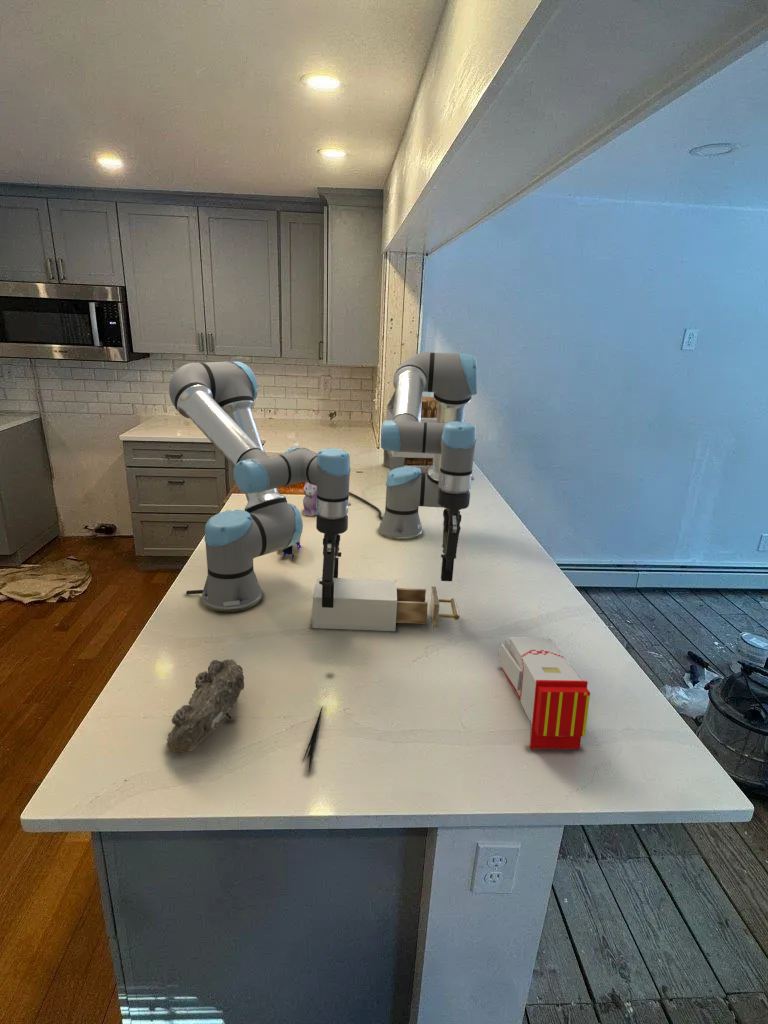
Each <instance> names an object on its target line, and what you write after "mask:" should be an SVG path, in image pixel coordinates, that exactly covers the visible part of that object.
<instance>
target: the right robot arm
mask: <svg viewBox="0 0 768 1024" xmlns="http://www.w3.org/2000/svg"><path fill="white" fill-rule="evenodd" d="M477 366H478V365H477V358H476V357H475V356H474V355H473V354H467V353H462V352H460V353H451V352H431V351H424V352H422V351H421V352H419V353H415V354H413V355H410V357H407V358H406V359H405V360H403V361H402V363H400V364H399V365H398V367H397V368H396V369H395V372H394V374H393V375H394V376H393V381H392V382H393V387H394V389H395V390H396V391H395V390H394V392H395V399H394V406H393V413H392V420H386V419H385V420H383V422H382V423H381V430H380V447H381V449H382V450H383V451H384V450H387V451H395V452H415V453H431V454H434V455H433V465H430V466H428V469H427V472H422V469H421V468H420V467H419V466H418V467H417V466H407V465H406V466H404V467H399V468H395V469H393V470H391V471H390V470H389V471H388V473H387V475H386V482H385V487H386V488H385V489H386V490H385V504H384V505H385V507H384V508H385V509H384V513H383V515H382V511H381V510H380V509H379V508H378V506H376V505H374V504H372V503H370V502H369V501H367V500H366V499H364V498H362V497H360V496H358V495H357V494H354V493H352V492H351V491H349V496H352V497H354V498H356V499H357V500H360V501H362V502H363V503H365V504H366V505H368V506H370V507H372V508H373V509H374V510H375V511H377V513H378V518H379V519H380V520H381V522H379V526H378V533H379V534H380V535H381V536H382V537H385V538H387V539H389V540H395V541H410V540H415V539H418V538H420V537H421V536H422V535H423V524H422V522H421V518H420V515H419V507H425V508H443V509H444V510H442V516H443V521H442V522H443V523H442V527H443V530H442V544H441V547H442V554H440V558H441V569H440V581H441V582H453V577H454V567H455V565H454V564H455V560H456V559H457V552H458V544H459V539H460V538H459V536H460V532H461V529H462V528H461V525H460V524H461V522H462V514H461V510H464V509H467V508H468V507H469V505H470V500H471V491H470V490H471V489H472V488H471V487H472V482H471V481H474V480H475V476H473V468H474V457H475V451H476V443H477V427H476V425H474V424H472V423H470V422H465V421H464V420H465V413H466V405H468V403H470V402H471V401H472V396H475V395H477V394H478V367H477ZM423 392H425V393H433V397H434V399H435V400H436V401H437V402H438V408H437V420H436V423H427V422H420V421H421V405H422V397H423Z"/></svg>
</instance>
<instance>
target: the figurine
mask: <svg viewBox="0 0 768 1024" xmlns="http://www.w3.org/2000/svg"><path fill="white" fill-rule="evenodd" d="M302 493H303V494H304V497H303V499H302V506H303V509H302V511H303V516H308V517H313V516H317V512H316V501H317V486H315V485H312V484H310V483H307V482H305V484H304V486H303V489H302Z"/></svg>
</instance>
